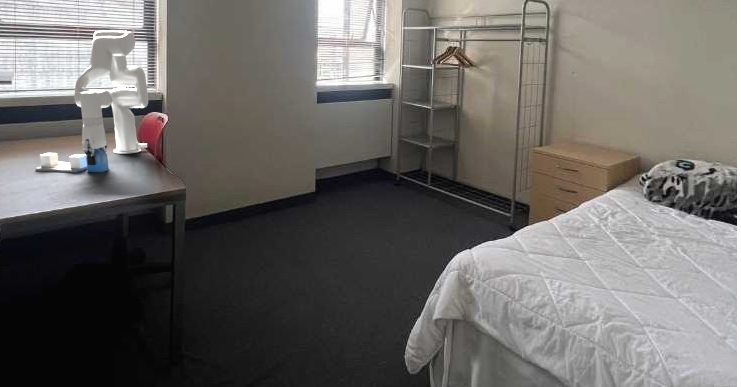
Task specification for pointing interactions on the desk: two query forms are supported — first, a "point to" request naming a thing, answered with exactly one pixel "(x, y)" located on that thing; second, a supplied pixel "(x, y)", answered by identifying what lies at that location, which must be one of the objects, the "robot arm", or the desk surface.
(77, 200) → the desk surface
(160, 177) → the desk surface
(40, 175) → the desk surface
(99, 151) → the perfume bottle
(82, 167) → the module rail
